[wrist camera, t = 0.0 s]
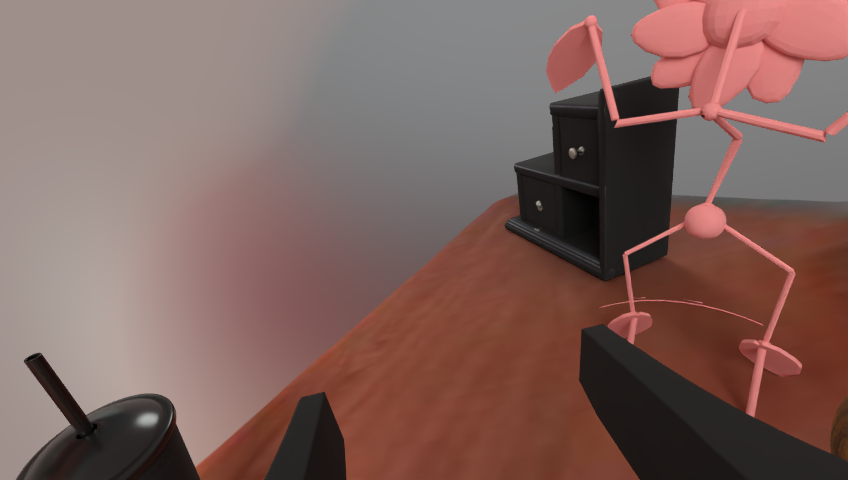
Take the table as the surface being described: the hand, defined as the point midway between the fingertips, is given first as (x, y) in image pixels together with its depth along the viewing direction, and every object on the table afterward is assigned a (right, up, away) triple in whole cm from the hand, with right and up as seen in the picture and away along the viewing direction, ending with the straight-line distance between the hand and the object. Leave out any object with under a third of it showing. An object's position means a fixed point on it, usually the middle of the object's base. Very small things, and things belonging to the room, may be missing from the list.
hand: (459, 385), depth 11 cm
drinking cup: (-17, -20, +17) cm, 31 cm away
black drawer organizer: (+22, +4, +52) cm, 56 cm away
